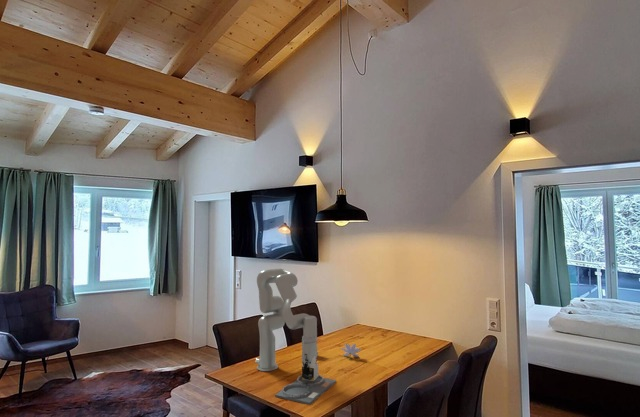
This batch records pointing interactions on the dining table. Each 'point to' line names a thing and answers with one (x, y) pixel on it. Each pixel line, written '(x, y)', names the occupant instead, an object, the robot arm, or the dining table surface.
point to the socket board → (314, 391)
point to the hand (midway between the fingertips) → (310, 371)
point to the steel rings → (300, 384)
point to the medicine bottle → (311, 370)
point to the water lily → (351, 350)
